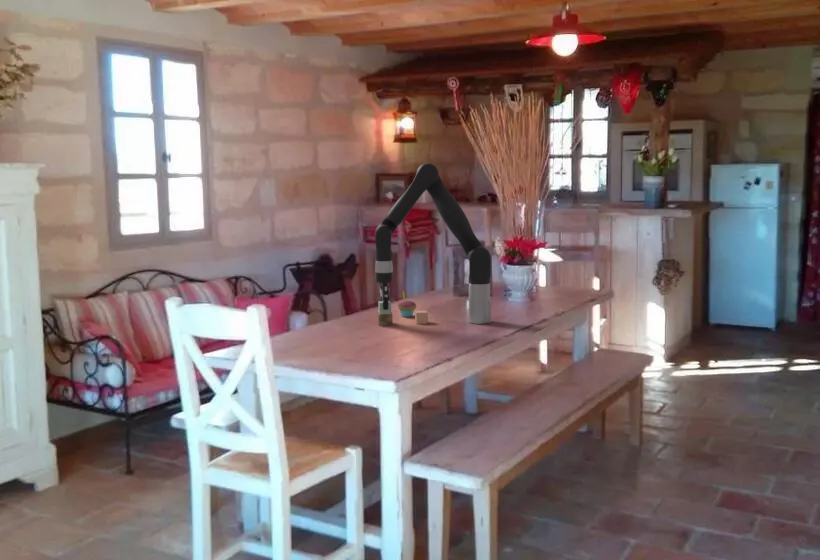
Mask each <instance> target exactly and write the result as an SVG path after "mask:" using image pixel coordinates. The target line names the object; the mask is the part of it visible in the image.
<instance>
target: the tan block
mask: <svg viewBox="0 0 820 560" xmlns="http://www.w3.org/2000/svg"><path fill="white" fill-rule="evenodd" d="M415 322H416V323H415ZM414 323H415V325H427V324H426V323H428V324H429V312H428V311H427V310H414Z"/></svg>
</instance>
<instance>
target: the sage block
mask: <svg viewBox="0 0 820 560" xmlns="http://www.w3.org/2000/svg"><path fill="white" fill-rule="evenodd" d="M377 304H378V312H379V314H391V312H392V302H391V301H390V300H389V301H388V310H384V309H383V301H380V300H378V303H377Z"/></svg>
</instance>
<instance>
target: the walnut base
mask: <svg viewBox="0 0 820 560" xmlns="http://www.w3.org/2000/svg"><path fill="white" fill-rule="evenodd" d="M393 320H394V319H393V312H392V311H391V314H379V311H377V325H378V326H381V327H382V326H383V327H384V326H386V327H387V326H393V325H394V323H393Z"/></svg>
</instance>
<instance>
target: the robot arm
mask: <svg viewBox="0 0 820 560" xmlns="http://www.w3.org/2000/svg"><path fill="white" fill-rule="evenodd" d="M426 191H427V192H428V194H429V195H430V197H431V198H432V200H433V203H434V205H435V207H436V209H437V211H438V213H439V215H440V217H441V219H442V220H443V222H444V224H445V226H447V228H448V229H449V230H450V232H451V234H452V235H454V237H455V238H456V240H457V241H458V242H459V244H460V245H461V247H462V249H463V251H464V253H465V256H466V257H467V260H468V262H469V263H468V264H469V267H468V269H469V271H468V272H469V273H468V323H470V324H475V325H477V324H478V325H479V324H480V325H481V324H482V325H483V324H491V323H492V301H491V275H492V270H491V269H492V257H491V253H490V251H489V250H488V248H486V247H484V245H483V244H482V243H481V241H480V240H479V239H478V237H477V236H476V234H475V233H474V231H473V228H472V226H471V224H470V221H469V219H468V217H467V215H466V214H465V212H464V210H463V208H462V207H461V204H459V203H458V201H457V200H456V199H455V197H454V196H453V195H452V194H451V192H450V191H449V189H447V187H446V185H445V183H443V180H442V179H441V176H440V174H439V170H438V168H437V166H436V165H434V164H432V163H430V162H426V163H422V164H420V165H419V166H418V168H417V170H416V174H415V177H414V178H413V181H412V182H411V184H410V185H409V186H408V188H407V189H406V191H405V192H404V193H402V195H401V196H400V197H398V199H397V201H396V202H395V203H394V204H393V206H392V207H391V209H390V210H388V213H387V215H386V216H385V217H384V218H383V220H382V221H381V222H380V223H379V224H378V226H377V227H376V229H375V230H374V240H375V265H374V266H375V267H374V269H375V271H374V272H375V273H374V274H375V282H376V283H378V284H379V296H380V300H381V301H383V309H384V310H388V301H390V286H389V285H388V283H393V281H394V267H393V252H392V251H393V250H392V235H393V234H394V232H395V231H396V230H397V228H398V227H399V225H401V224H402V222H403V221H404V220H405V218H406V217H407V216H408V214H409V213H410V212H411V210H412V209H413V208H414V206H415V205H416V203H417V202H418V200H419V199H420V197H421V196H422V195H423V194H424V193H425V192H426Z"/></svg>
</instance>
